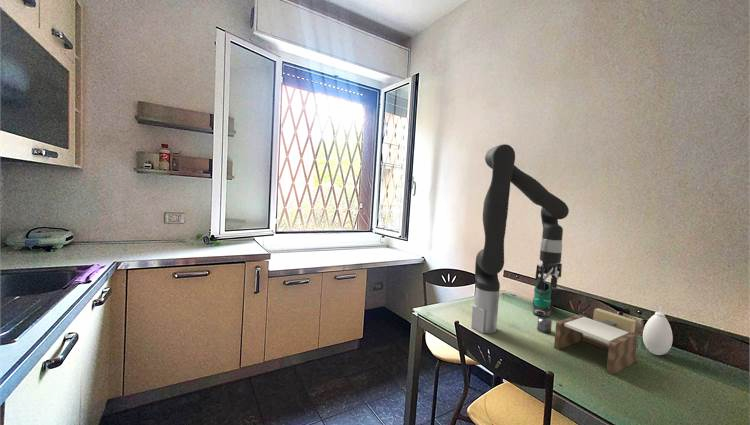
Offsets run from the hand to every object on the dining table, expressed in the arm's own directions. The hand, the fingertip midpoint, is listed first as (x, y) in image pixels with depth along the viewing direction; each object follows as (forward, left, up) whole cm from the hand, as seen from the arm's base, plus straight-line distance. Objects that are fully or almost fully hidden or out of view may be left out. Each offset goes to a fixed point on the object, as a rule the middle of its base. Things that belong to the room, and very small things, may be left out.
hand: (547, 288), depth 121 cm
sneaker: (+23, +15, -18) cm, 33 cm away
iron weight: (0, 0, -18) cm, 18 cm away
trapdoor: (+2, -19, -12) cm, 22 cm away
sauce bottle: (+21, -29, -18) cm, 40 cm away
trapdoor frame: (-2, -19, -18) cm, 26 cm away
